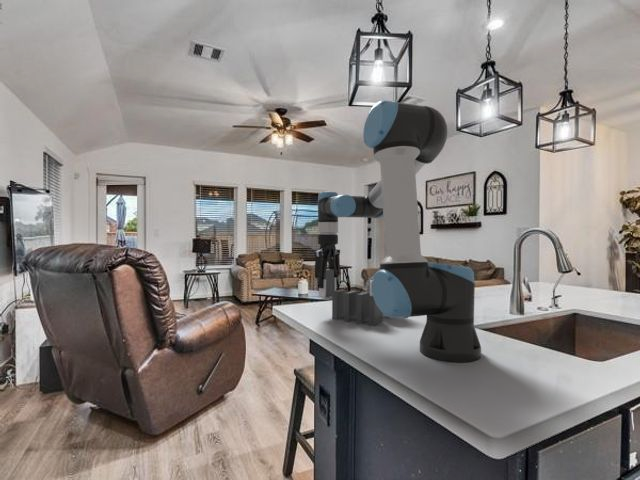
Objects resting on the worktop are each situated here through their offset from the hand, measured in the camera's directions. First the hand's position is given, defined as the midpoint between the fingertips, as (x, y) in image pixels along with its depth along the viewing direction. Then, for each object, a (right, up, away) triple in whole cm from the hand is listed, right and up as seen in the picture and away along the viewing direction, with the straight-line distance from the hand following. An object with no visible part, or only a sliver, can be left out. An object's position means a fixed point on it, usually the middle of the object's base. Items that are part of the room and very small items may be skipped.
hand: (327, 295), depth 137 cm
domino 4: (+12, -8, -9) cm, 17 cm away
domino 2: (+4, -8, -3) cm, 9 cm away
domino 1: (0, 0, 0) cm, 0 cm away
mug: (+22, -8, 0) cm, 23 cm away
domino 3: (+8, -8, -6) cm, 13 cm away
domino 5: (+16, -8, -12) cm, 22 cm away
